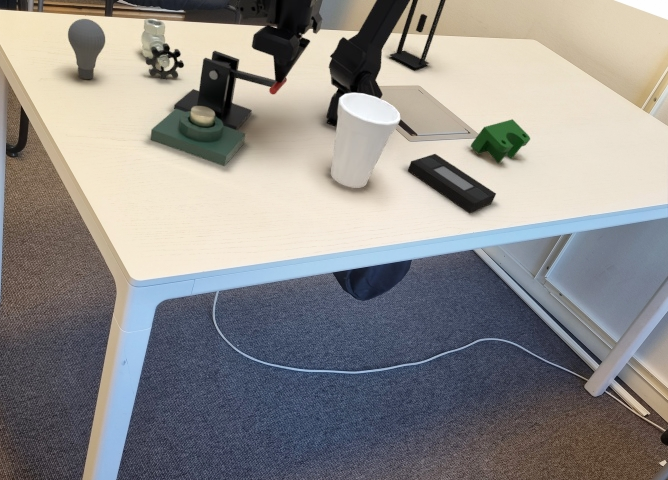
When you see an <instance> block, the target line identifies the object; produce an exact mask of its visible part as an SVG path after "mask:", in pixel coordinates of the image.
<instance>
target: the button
mask: <svg viewBox="0 0 668 480" xmlns="http://www.w3.org/2000/svg"><path fill="white" fill-rule="evenodd" d="M214 118H215V112H214V111H213V110H212V109H210V108H208V107H204V106H194V107H192V109H191V115H190V123H191V124H193V125H195V126H198V127H201V128H211V127H213V124H214Z"/></svg>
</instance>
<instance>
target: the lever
mask: <svg viewBox="0 0 668 480" xmlns="http://www.w3.org/2000/svg"><path fill="white" fill-rule="evenodd" d="M214 61H217V62H220V63H222V64H225V65H228V66H231V63H230V62H226V61H222V60H218V59H214ZM230 77H234V78H236V79H237V80H238V79H239V80H243V81H246V82H250V83H254V84H256V85H261V86H265V87H269V88H268V92H269V94H271V95H273V96H274V95H276V94H277V93H278V91H279V90H280V89H282V88H283V86H284V85H285V84H286V83H287V81H288V80H287V77H286V78H285V79H284V81H283V82H282V83H279V82H277V81H275V79H273V78H269V77H265V76H261V75H257V74H254V73H249V72H246V71H243V70H239V69H238V70H235V69H231V71H230Z"/></svg>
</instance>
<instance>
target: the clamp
mask: <svg viewBox="0 0 668 480" xmlns="http://www.w3.org/2000/svg"><path fill="white" fill-rule="evenodd" d="M530 141H531V137H530V135H529V134H528V133H527V132H526V131H525V130H524V129H523V128H522V127H521V126H520V125H519V124H518V123H517V122H516V121H515V120H514V119H513V118H512V119H508V120H505V121H501V122H497V123H494V124H490V125H486V126H483V128H482V129H481V130H480V132H479V133H478V134H477V136H476V137H475V138H474V140H473V141H472V142H471V145H470V148H471V149H472V150H473V151H474V152H475V153H476V154H477V155H481V154H484V153H488V154H489V155H490V156H491V157H492V158H493V159H494V160H495V161H496V162H497V163H498V164H500V163H501V162H502V160H503V159H504V158H505V157H506V156H508V157H509V158H510V159H513V158H514V157H515V156H516V154H517V153H518V152H519V151H520V150H521V148H522V147H525V146H527V144H528V143H529V142H530Z"/></svg>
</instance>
